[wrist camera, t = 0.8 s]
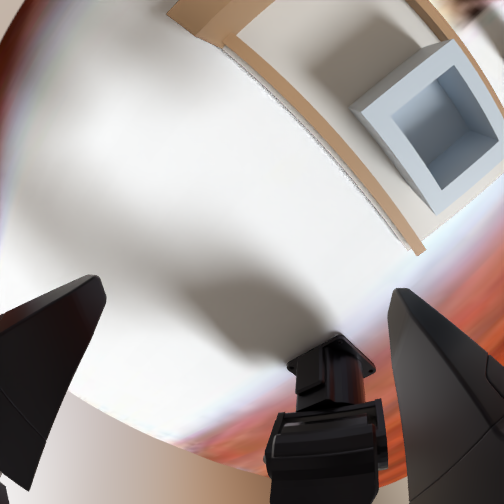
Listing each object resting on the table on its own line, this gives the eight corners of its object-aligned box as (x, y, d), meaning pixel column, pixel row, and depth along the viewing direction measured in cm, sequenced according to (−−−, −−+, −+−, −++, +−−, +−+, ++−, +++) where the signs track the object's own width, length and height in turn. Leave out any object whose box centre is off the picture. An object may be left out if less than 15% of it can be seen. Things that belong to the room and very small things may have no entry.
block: (481, 132, 15) (516, 146, 11) (412, 190, 17) (436, 216, 14) (423, 46, 13) (453, 38, 9) (347, 107, 16) (360, 112, 12)
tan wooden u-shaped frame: (515, 152, 15) (564, 176, 10) (404, 244, 21) (429, 293, 16) (334, -70, 10) (342, -114, 5) (203, 32, 16) (165, 14, 11)
